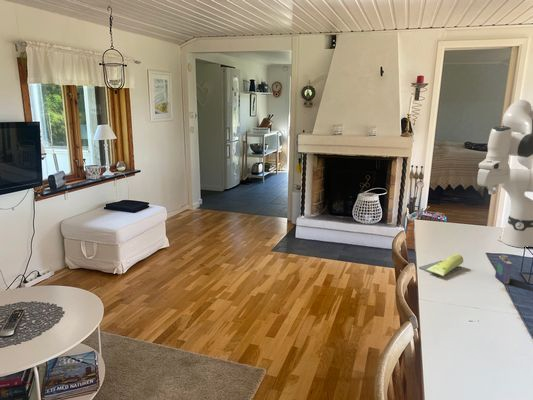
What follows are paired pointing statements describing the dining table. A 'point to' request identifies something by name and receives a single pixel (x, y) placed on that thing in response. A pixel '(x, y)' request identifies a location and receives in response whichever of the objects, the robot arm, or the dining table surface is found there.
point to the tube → (447, 264)
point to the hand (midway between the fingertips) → (491, 194)
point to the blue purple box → (503, 269)
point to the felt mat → (435, 264)
